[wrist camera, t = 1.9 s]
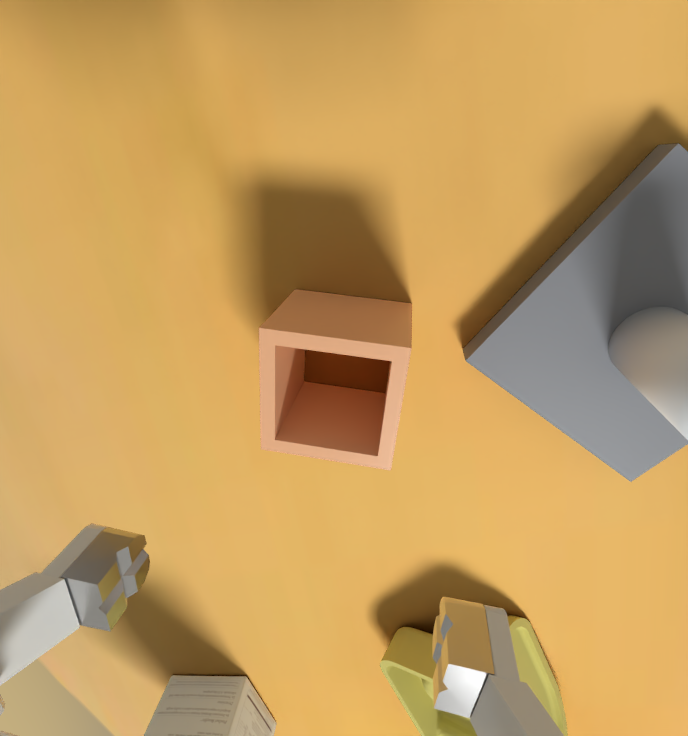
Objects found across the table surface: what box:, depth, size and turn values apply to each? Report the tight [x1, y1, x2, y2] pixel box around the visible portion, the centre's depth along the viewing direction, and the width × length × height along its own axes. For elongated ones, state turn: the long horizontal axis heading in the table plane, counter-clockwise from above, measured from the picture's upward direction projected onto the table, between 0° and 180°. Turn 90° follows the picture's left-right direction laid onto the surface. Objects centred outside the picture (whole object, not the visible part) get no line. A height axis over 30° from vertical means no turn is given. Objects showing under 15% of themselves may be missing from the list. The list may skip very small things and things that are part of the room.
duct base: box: [463, 143, 688, 482], centre depth 18 cm, size 12×12×8 cm
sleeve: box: [259, 289, 412, 470], centre depth 21 cm, size 6×6×6 cm
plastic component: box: [380, 615, 568, 736], centre depth 35 cm, size 20×7×10 cm
